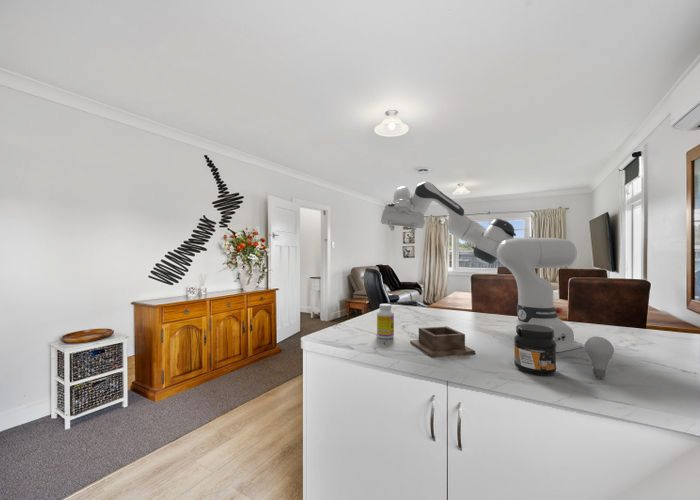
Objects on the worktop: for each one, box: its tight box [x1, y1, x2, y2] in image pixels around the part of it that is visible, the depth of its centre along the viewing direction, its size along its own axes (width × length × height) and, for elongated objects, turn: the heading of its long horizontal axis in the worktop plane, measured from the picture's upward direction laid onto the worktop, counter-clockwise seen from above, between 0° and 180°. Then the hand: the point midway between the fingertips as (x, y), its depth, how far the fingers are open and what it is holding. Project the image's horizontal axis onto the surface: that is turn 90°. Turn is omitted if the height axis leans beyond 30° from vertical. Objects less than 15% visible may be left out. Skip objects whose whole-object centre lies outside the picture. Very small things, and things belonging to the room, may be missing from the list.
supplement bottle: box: [376, 303, 395, 340], centre depth 123 cm, size 7×7×13 cm
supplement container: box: [513, 324, 557, 377], centre depth 89 cm, size 10×10×12 cm
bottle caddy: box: [409, 325, 476, 359], centre depth 109 cm, size 16×16×6 cm
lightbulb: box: [584, 336, 615, 379], centre depth 83 cm, size 6×6×11 cm
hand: (402, 230), depth 141 cm, fingers open, 8 cm apart
